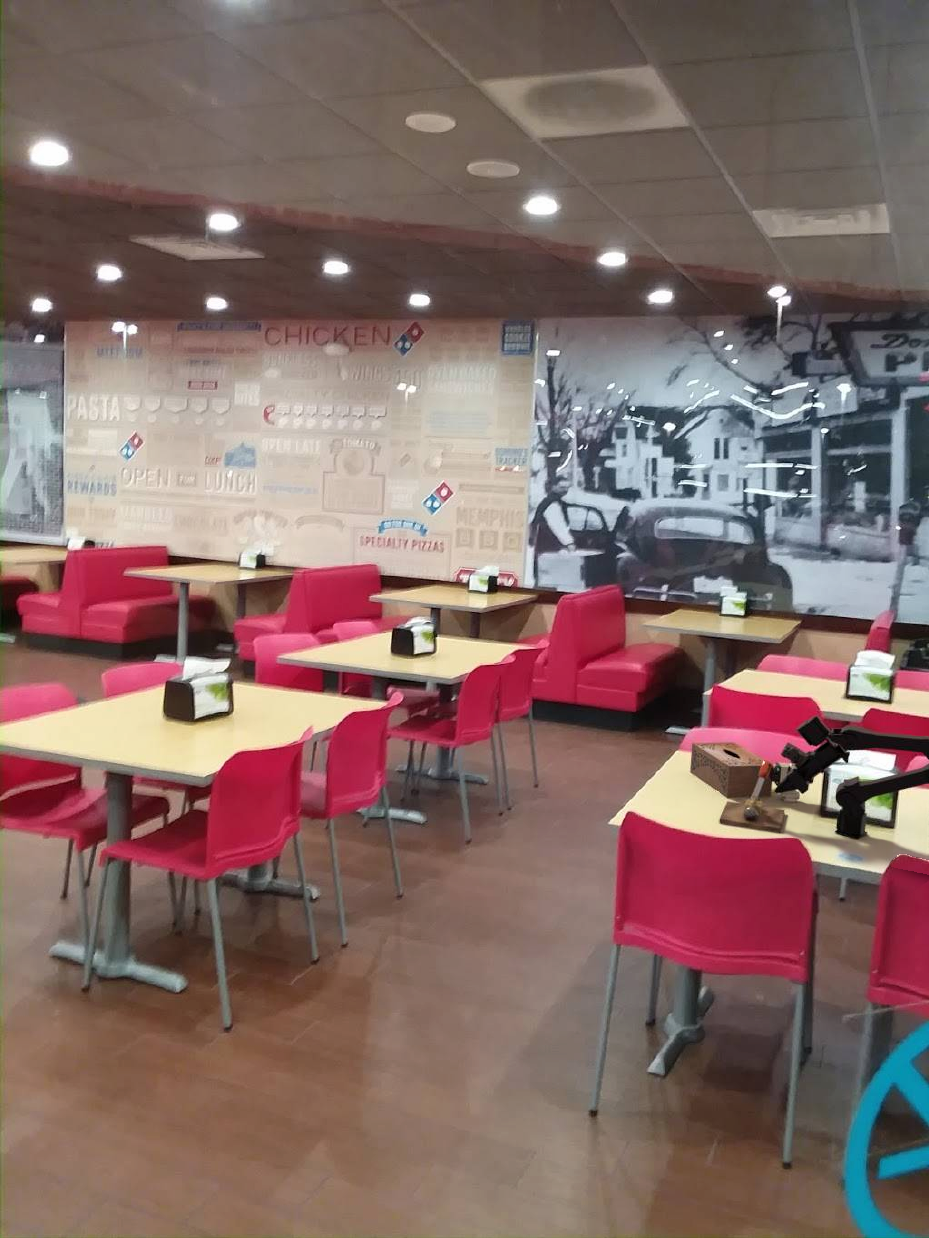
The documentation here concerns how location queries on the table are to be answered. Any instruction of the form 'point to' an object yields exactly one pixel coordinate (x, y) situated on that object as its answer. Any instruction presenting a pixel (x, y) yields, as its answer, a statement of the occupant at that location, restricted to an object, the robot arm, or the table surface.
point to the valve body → (752, 809)
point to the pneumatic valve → (778, 775)
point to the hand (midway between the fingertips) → (775, 791)
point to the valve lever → (762, 777)
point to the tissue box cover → (728, 769)
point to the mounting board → (767, 821)
